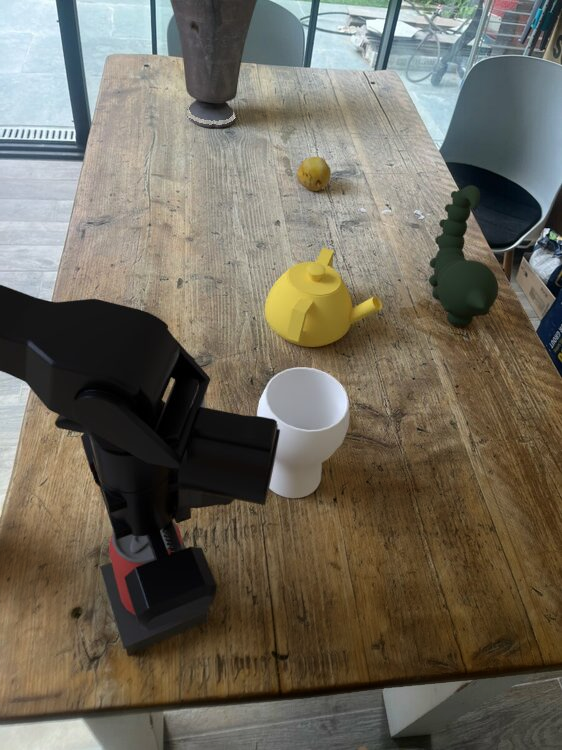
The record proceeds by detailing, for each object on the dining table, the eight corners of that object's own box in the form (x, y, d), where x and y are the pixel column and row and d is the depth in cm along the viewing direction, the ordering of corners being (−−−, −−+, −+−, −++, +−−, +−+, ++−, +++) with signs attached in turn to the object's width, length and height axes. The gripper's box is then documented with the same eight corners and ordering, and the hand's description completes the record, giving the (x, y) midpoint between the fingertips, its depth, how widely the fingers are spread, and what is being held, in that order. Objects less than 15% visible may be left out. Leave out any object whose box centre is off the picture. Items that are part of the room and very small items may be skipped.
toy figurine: (412, 266, 113) (437, 347, 94) (440, 171, 100) (475, 242, 82) (460, 270, 113) (494, 352, 95) (493, 176, 101) (540, 249, 82)
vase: (228, 145, 136) (233, -3, 114) (149, 120, 141) (140, -27, 119) (269, 113, 150) (280, -24, 128) (196, 91, 155) (195, -44, 133)
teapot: (360, 382, 88) (376, 329, 80) (246, 349, 90) (250, 294, 82) (382, 304, 101) (398, 251, 93) (283, 277, 104) (289, 223, 96)
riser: (126, 658, 58) (123, 648, 56) (103, 579, 64) (99, 566, 61) (210, 622, 62) (210, 610, 59) (181, 549, 67) (181, 535, 65)
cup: (291, 427, 81) (305, 350, 70) (348, 476, 76) (373, 402, 65) (233, 469, 75) (239, 392, 64) (292, 525, 70) (308, 453, 60)
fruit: (339, 175, 119) (331, 151, 126) (308, 166, 117) (302, 142, 124) (326, 203, 124) (319, 179, 131) (296, 195, 122) (290, 171, 128)
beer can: (106, 603, 59) (90, 549, 50) (142, 549, 63) (132, 489, 54) (164, 631, 58) (157, 580, 49) (195, 573, 62) (195, 517, 53)
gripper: (287, 526, 41) (269, 611, 52) (195, 351, 52) (196, 453, 63) (131, 588, 37) (148, 666, 48) (67, 384, 48) (93, 486, 59)
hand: (150, 555), depth 55 cm, fingers open, 9 cm apart
